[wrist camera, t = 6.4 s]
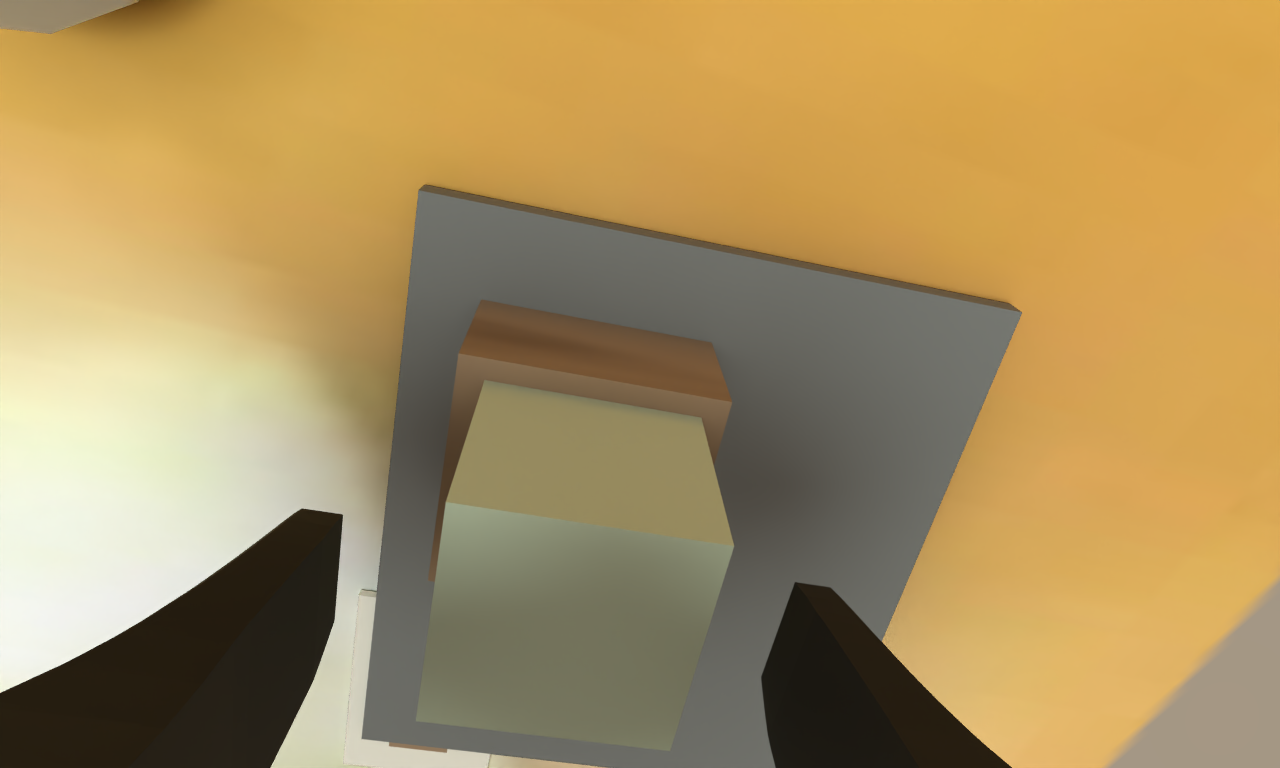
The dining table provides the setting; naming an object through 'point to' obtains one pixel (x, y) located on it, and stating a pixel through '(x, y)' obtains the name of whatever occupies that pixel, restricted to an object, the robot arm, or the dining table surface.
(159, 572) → the dining table surface
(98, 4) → the salt shaker
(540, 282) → the slate mat
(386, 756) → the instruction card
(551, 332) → the walnut block
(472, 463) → the sage block
